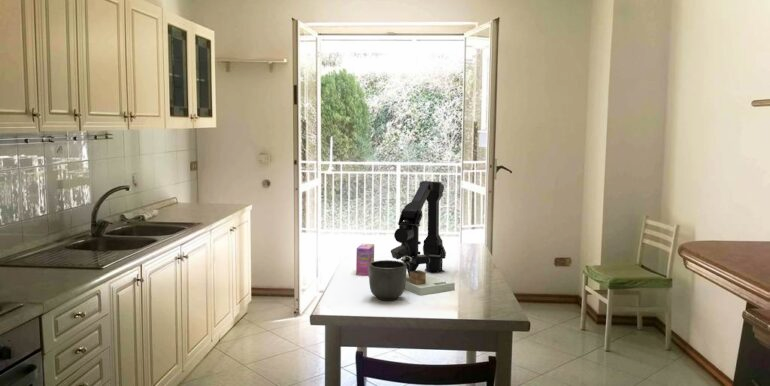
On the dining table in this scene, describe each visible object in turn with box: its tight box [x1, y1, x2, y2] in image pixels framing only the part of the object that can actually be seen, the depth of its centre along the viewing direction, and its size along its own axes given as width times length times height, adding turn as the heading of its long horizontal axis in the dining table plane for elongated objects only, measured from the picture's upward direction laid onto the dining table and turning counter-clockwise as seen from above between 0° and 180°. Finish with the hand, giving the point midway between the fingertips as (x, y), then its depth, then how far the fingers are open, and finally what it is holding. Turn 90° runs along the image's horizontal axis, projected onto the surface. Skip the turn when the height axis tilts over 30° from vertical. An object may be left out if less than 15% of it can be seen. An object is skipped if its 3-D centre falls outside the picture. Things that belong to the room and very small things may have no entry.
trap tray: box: [405, 272, 456, 296], centre depth 246 cm, size 16×25×3 cm, turn 30°
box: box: [355, 243, 375, 277], centre depth 266 cm, size 10×6×12 cm, turn 168°
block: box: [410, 269, 427, 285], centre depth 241 cm, size 4×4×4 cm
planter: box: [368, 259, 408, 302], centre depth 226 cm, size 14×14×13 cm
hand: (410, 277), depth 246 cm, fingers closed
